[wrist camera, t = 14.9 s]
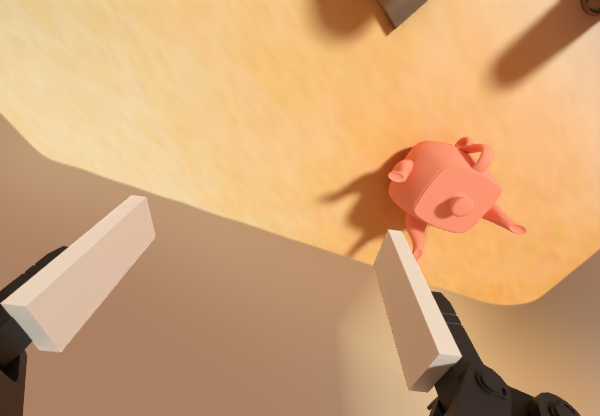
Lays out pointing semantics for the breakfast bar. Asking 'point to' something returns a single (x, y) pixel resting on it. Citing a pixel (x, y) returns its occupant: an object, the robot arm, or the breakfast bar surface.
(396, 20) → the board
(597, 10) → the mug
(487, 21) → the breakfast bar surface
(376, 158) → the breakfast bar surface
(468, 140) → the teapot
